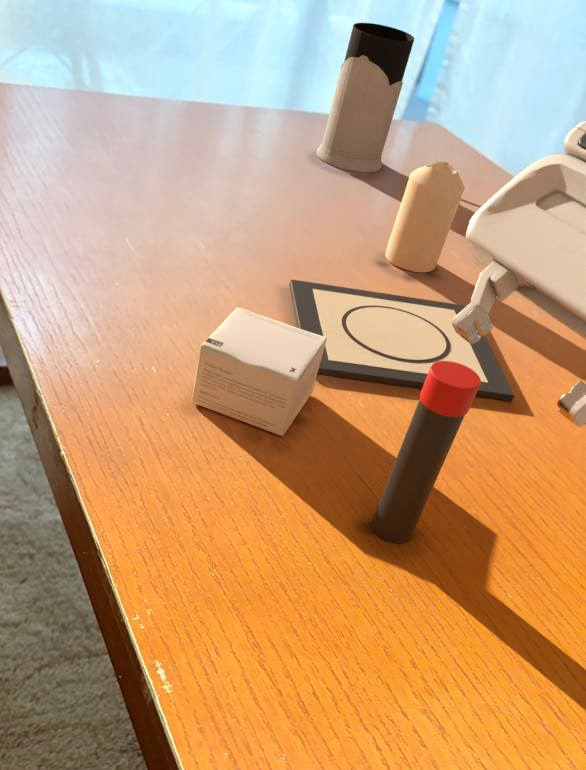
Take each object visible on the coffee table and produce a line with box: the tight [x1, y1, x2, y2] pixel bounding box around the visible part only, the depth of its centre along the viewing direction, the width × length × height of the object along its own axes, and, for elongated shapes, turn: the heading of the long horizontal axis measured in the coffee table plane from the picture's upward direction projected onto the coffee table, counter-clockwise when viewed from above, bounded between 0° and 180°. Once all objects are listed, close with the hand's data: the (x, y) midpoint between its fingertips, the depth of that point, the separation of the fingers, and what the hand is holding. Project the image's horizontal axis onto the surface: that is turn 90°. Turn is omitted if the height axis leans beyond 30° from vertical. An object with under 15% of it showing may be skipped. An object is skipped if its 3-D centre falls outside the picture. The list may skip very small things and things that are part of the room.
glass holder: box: [315, 22, 415, 173], centre depth 113 cm, size 9×14×15 cm, turn 145°
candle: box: [384, 161, 465, 273], centre depth 91 cm, size 6×6×10 cm
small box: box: [191, 306, 327, 437], centre depth 68 cm, size 8×8×5 cm
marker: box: [370, 361, 481, 544], centre depth 56 cm, size 3×3×12 cm
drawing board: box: [289, 279, 515, 402], centre depth 80 cm, size 18×16×1 cm
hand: (511, 372), depth 55 cm, fingers open, 8 cm apart
